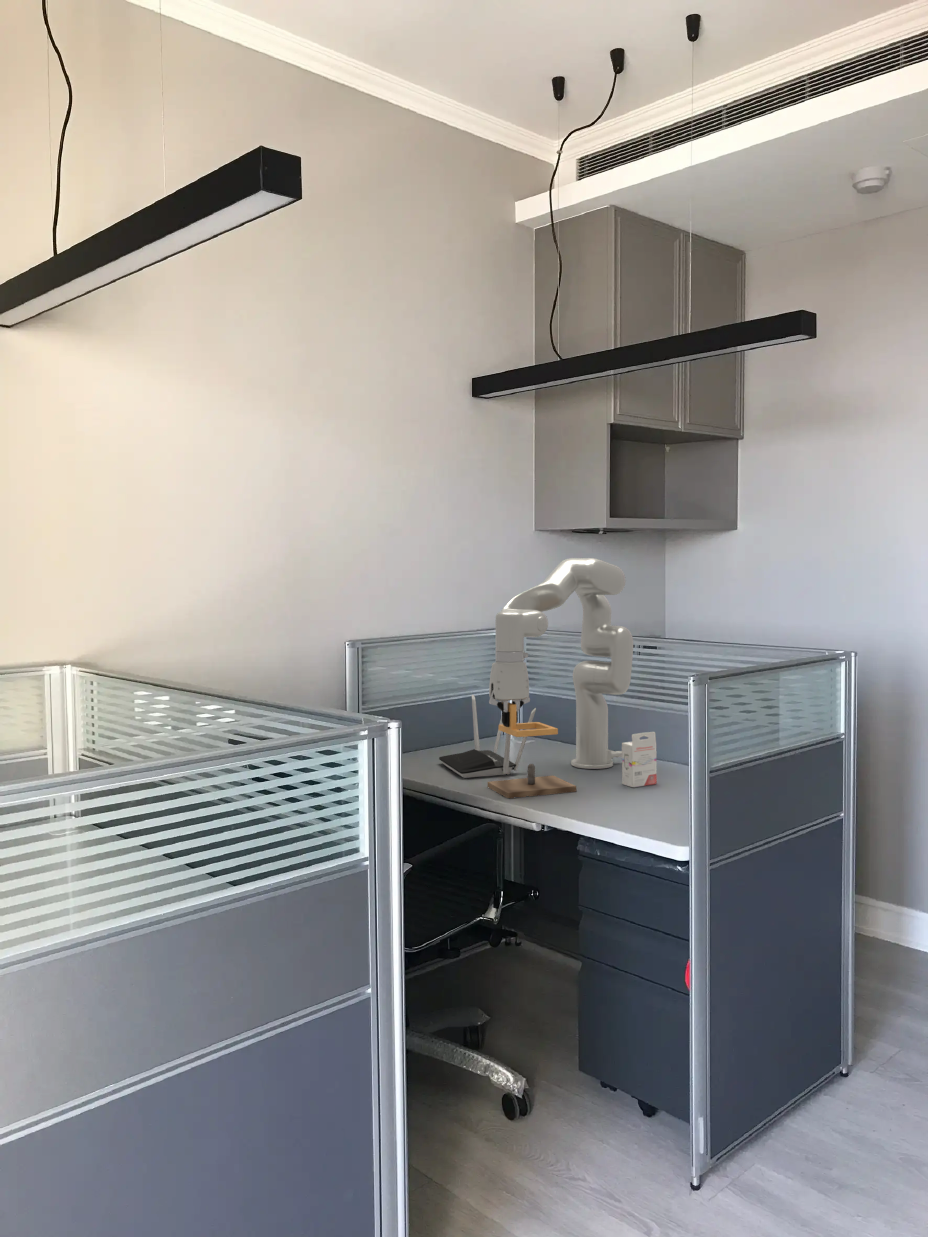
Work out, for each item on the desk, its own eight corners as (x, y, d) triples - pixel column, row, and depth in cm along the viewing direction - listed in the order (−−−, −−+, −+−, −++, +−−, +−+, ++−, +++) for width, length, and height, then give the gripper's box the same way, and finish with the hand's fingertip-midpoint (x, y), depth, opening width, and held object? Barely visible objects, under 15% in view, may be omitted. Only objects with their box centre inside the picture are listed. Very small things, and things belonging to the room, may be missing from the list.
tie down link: (538, 727, 274) (538, 698, 273) (557, 734, 262) (557, 704, 262) (498, 730, 269) (498, 701, 269) (516, 737, 258) (516, 706, 258)
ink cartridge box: (645, 780, 277) (646, 728, 276) (657, 784, 272) (657, 731, 271) (621, 784, 273) (621, 731, 272) (632, 787, 268) (632, 734, 267)
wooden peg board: (553, 780, 277) (553, 756, 277) (576, 791, 264) (576, 765, 264) (487, 787, 270) (487, 762, 270) (508, 798, 257) (507, 772, 257)
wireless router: (433, 760, 306) (432, 696, 305) (502, 755, 313) (502, 693, 312) (467, 784, 274) (466, 712, 273) (543, 777, 281) (543, 708, 280)
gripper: (530, 655, 269) (530, 722, 270) (477, 657, 263) (477, 725, 264) (542, 657, 262) (542, 726, 263) (488, 660, 256) (488, 730, 257)
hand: (509, 725), depth 264 cm, fingers closed on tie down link, 1 cm apart
